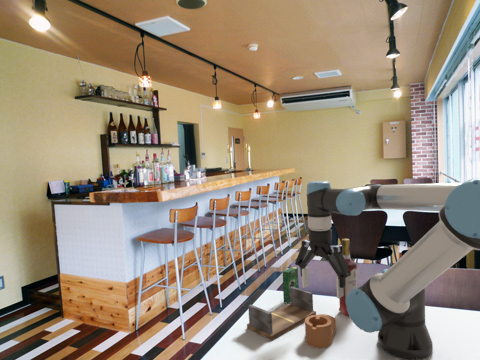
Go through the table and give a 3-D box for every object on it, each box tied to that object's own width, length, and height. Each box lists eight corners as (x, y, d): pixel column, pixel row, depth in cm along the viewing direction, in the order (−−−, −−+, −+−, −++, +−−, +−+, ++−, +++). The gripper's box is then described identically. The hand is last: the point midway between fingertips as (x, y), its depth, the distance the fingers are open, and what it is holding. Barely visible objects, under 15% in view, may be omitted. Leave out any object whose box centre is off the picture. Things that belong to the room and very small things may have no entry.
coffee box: (294, 295, 149) (292, 265, 149) (299, 297, 147) (298, 267, 147) (283, 302, 143) (281, 271, 143) (289, 304, 141) (287, 272, 141)
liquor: (347, 307, 135) (344, 236, 133) (363, 314, 129) (360, 239, 127) (334, 312, 131) (330, 239, 130) (349, 320, 125) (346, 243, 123)
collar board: (316, 315, 130) (315, 293, 130) (271, 340, 114) (270, 315, 114) (291, 306, 139) (290, 285, 139) (247, 328, 123) (245, 305, 123)
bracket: (330, 350, 107) (329, 328, 107) (303, 346, 110) (302, 325, 110) (337, 323, 124) (336, 304, 123) (313, 320, 127) (312, 302, 126)
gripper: (360, 231, 108) (362, 298, 109) (297, 222, 126) (299, 279, 128) (347, 235, 103) (350, 305, 104) (283, 226, 121) (286, 285, 123)
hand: (322, 291), depth 116 cm, fingers open, 13 cm apart
